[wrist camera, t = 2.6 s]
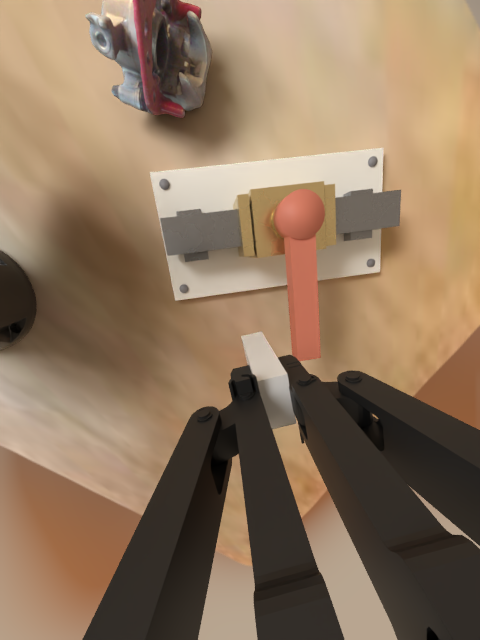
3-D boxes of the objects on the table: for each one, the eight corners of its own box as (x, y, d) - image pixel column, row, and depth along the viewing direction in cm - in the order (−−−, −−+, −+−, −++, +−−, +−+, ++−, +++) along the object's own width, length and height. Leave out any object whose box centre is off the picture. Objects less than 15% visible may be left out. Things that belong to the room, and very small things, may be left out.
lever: (271, 197, 25) (277, 191, 22) (313, 192, 25) (324, 186, 23) (284, 354, 29) (290, 363, 27) (320, 349, 30) (329, 357, 27)
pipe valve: (177, 266, 34) (165, 270, 26) (167, 212, 32) (151, 198, 24) (369, 241, 36) (415, 237, 28) (369, 188, 34) (419, 167, 26)
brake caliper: (217, 139, 28) (109, 50, 18) (158, 143, 33) (52, 78, 24) (242, 13, 25) (130, -173, 15) (173, 41, 31) (60, -80, 21)
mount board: (176, 299, 35) (175, 301, 34) (152, 175, 31) (149, 171, 30) (374, 271, 37) (380, 272, 36) (377, 151, 33) (384, 147, 32)
